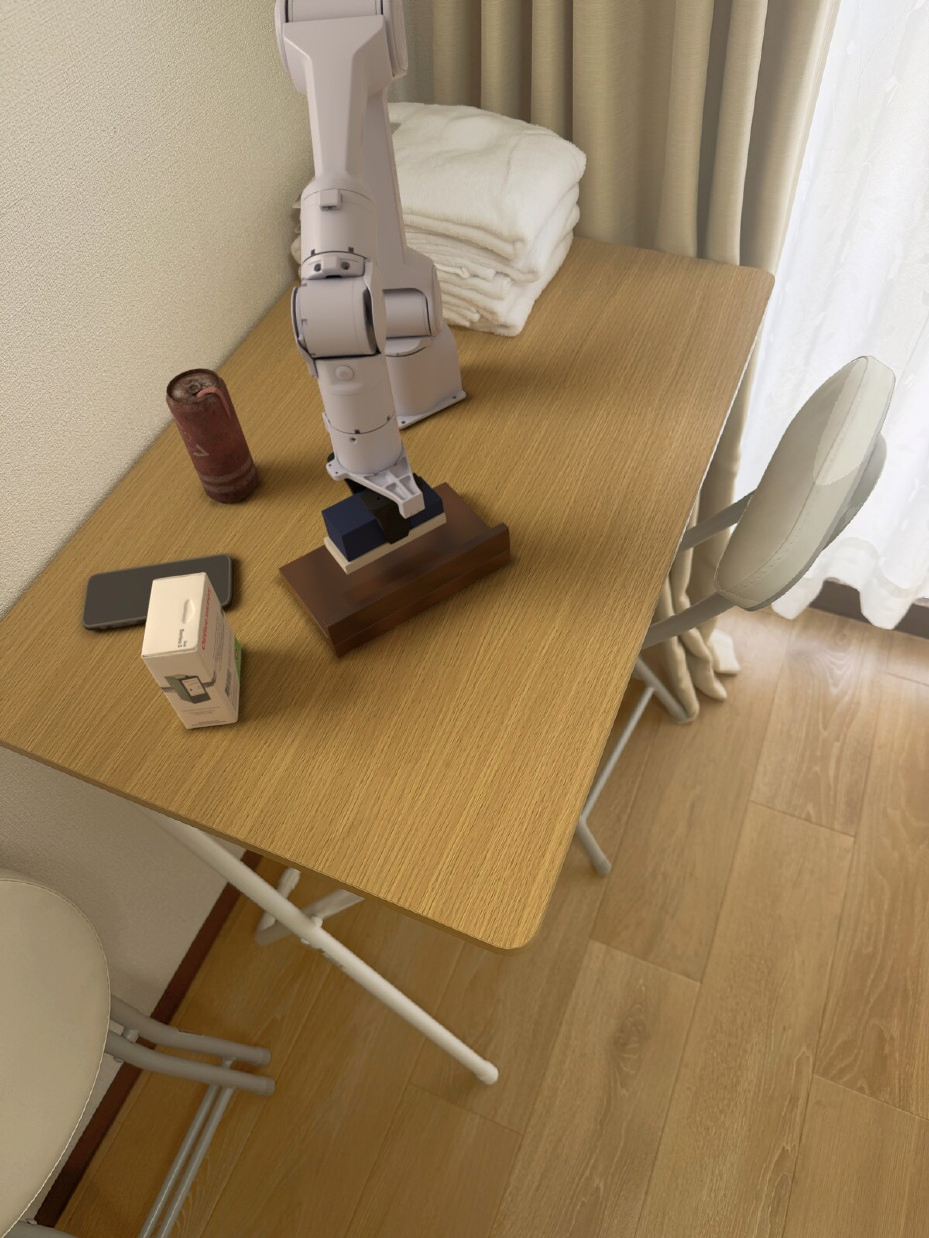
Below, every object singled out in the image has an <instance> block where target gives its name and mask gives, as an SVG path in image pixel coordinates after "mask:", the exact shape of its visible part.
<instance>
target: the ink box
mask: <svg viewBox="0 0 929 1238" xmlns="http://www.w3.org/2000/svg"><path fill="white" fill-rule="evenodd" d="M144 628H145V629H144V635H143V641H142V648H141V654H140V658H141V659H142V661H143V662H144V664H145V666H146V667H147V669H148V671H149V672H150V673H151V675H152V677H153V679H154V680H155V681H156V683H157V684H158V686H159V687H160V689H161V691H162V693H163V694H164V695H165V697H166V698H167V701H169V703H170V705H171V706H172V708H173V710H174V711H175V713H176V715H177V716H178V717H179V719H180V721H181V722H182V724H183V725H184V726H185V728H186V729H187V730H191V729H197V728H204V727H213V726H221V725H230V724H235V723H237V721H238V720H239V708H240V707H239V706H240V688H241V687H240V686H241V669H242V651H243V650H242V647H241V644H240V643H239V641H238V638H237V637H236V635H235V632H234V630H233V627H232V626H231V623H230V621H229V619H228V617H227V614H226V613H225V611H224V610H223V608H222V606H221V604H220V602H219V600H218V598H217V595H216V593H215V591H214V589H213V587H212V585H211V583H210V580H209V578H208V576H207V574H206V573H196V574H189V575H181V576H173V577H167V578H160V579H155V580H153V584H152V590H151V596H150V603H149V609H148V616H147V622H145V627H144Z"/></svg>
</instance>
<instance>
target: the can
mask: <svg viewBox="0 0 929 1238" xmlns="http://www.w3.org/2000/svg"><path fill="white" fill-rule="evenodd" d="M165 389H166V391H165V393H166V394H165V395H166V396H165V402H166V404H167V406H168V408H169V411H170V413H171V416H172V418H173V420H174V423H175V425H176V427H177V430H178V432H179V434H180V436H181V439H182V441H183V444H184V445H185V448H186V450H187V453H188V455H189V457H190V460H191V462H192V464H193V466H194V469H195V471H196V475H198V478H199V481H200V483H201V485H202V487H203V489H204V492H205V494H206V496H207V497H209V498H210V499H211V500H213V501H215V502H219V503H221V504H231V503H237V502H240V501H243V500H245V499H246V498H248V497H249V496H251V494H252V493H254V491H255V489H256V487H257V484H258V482H259V473H258V470H257V467H256V465H255V462H254V459H253V456H252V453H251V451H250V447H249V446H248V441H247V439H246V437H245V435H244V431H243V429H242V426H241V423H240V421H239V418H238V415H237V413H236V409H235V406H234V403H233V401H232V400H233V399H232V398H231V396H230V395H231V394H230V393H229V390H228V387H227V384H226V382H225V380H224V379H223V378H222V377H220V376H219V374H218V373H217V372H215V371H214V370H213V369H209V368H200V367H199V368H192V369H188V370H186V371H182V372H181V373H179V374H176V375H175V376H174V377H173V378H171V380H170V381H169V382H168V383H167V386H166V388H165Z"/></svg>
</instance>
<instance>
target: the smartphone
mask: <svg viewBox="0 0 929 1238" xmlns="http://www.w3.org/2000/svg"><path fill="white" fill-rule="evenodd" d="M233 562H234V561H233V558H232V557H231V555H229V554H228V553H218V554H211V555H206V556H200V557H193V558H187V559H186V558H185V559H180V560H174V561H166V562H161V563H154V564H148V565H141V566H134V567H127V568H121V569H116V570H109V571H104V572H103V571H102V572H97V573H94V574H92V575H91V576H89V577H88V579H87V582H86V587H85V594H84V601H83V609H82V610H83V611H82V615H81V625H82V627H83V629H85V630H86V631H90V632H91V631H92V632H94V631H99V630H107V629H111V628H112V629H113V628H121V627H125V626H132V625H138V624H143V623H146V622H147V616H148V609H149V603H150V596H151V590H152V584H153V580H155V579H160V578H167V577H173V576H181V575H189V574H196V573H206V574H207V576H208V578H209V580H210V583H211V585H212V587H213V589H214V591H215V593H216V595H217V598H218V600H219V602H220V604H221V606H222V608H223V611H224V610H226V609H228V608H229V607H230V606H231V605H232V602H233V592H234V591H233V587H234V585H233V583H234V582H233V581H234V580H233V578H234V563H233Z"/></svg>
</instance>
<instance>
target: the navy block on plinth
mask: <svg viewBox="0 0 929 1238" xmlns="http://www.w3.org/2000/svg"><path fill="white" fill-rule="evenodd" d="M418 476H419V478H420V479H421V480H422V481H423V484H424V492H423V493H422V494H423V500H424V506H425V509H423V510H421V511H419V512H418V513H416V514H414V515H412V518H411V524H410V530H409V535H408V536H407V537H405V538H403V539H402V540H400V541H398V542H396V543H394V544H392V545H391V544H389V542H388V541H387V540H386V539H385V537H384V535H383V534H382V532H381V529H380V527H379V525H378V522H377V520H376V518H375V516H374V515H373V514H371V513H370V512H369V511H368V510H367V508H366V507H365V506H364V505H363V504H362V503H361V501H360V500H359V498H358V496H360V495H362V494H364V493H366V492H368V491H370V490H372V489H370V488H366V489H364V490H362V491H360V492H358V493H356V494H354V495H353V494H352V495H350V496H348V497H347V498H344V499H342V500H340V501H337V502H336V503H334V504H332V505H330V506H328V507H326V508H323V509H322V510H321V516H322V518H323V522H324V525H325V529H326V533H327V535H328V536H326V537H324V538H323V543H324V544H325V545H326V548H327V549H328V550H329V551H330V553H331V554H332V555H333V557H334V558H335V559H336V561H337V562H338V563H339V564H340V566H341V567H342V568H343V570H344V571H345V572H346V574H347V575H348V574H350V573H352V572H353V571H355V570H357V569H359V568H361V567H363V566H365V565H367V564H368V563H370V562H372V561H374V560H376V559H378V558H380V557H382V556H384V555H385V554H387V553H389V552H391V551H393V550H395V549H397V548H399V547H401V546H402V545H404V544H406V543H408V542H410V541H412V540H414V539H416V538H417V537H419V536H421V535H423V534H425V533H427V532H429V531H431V530H433V529H434V528H436V527H438V526H440V525H442V524H444V523H446V516H445V513H444V508H443V502H442V498H441V497H440V496H439V495H438V494H437V493H436V492H435V491H434V490H433V489H432V488H433V487H431V485H430V484H429V483H428V482H427V480H425V479H424V478H423V477H422V475H418Z"/></svg>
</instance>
